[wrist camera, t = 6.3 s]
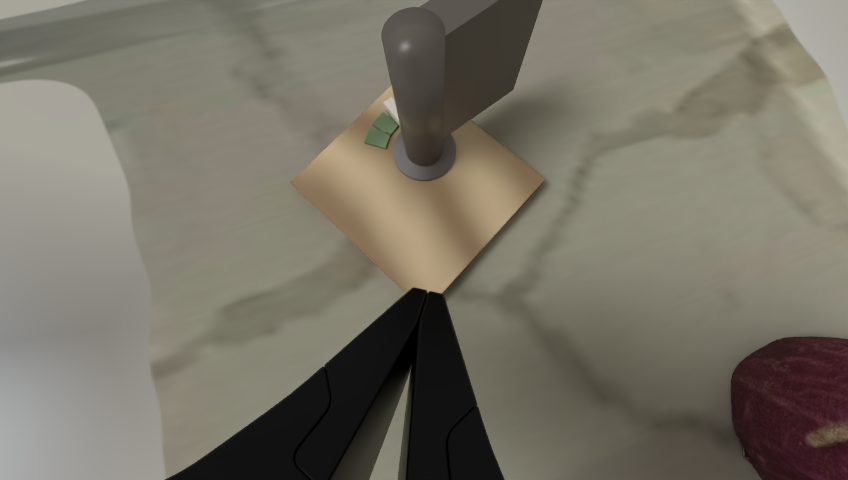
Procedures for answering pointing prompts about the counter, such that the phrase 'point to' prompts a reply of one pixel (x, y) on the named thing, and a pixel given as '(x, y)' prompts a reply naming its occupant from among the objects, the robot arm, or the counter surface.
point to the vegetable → (794, 409)
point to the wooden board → (416, 196)
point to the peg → (452, 65)
